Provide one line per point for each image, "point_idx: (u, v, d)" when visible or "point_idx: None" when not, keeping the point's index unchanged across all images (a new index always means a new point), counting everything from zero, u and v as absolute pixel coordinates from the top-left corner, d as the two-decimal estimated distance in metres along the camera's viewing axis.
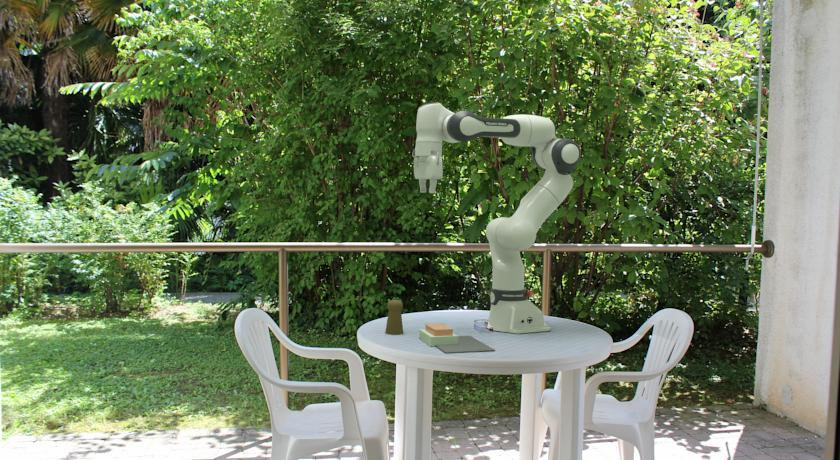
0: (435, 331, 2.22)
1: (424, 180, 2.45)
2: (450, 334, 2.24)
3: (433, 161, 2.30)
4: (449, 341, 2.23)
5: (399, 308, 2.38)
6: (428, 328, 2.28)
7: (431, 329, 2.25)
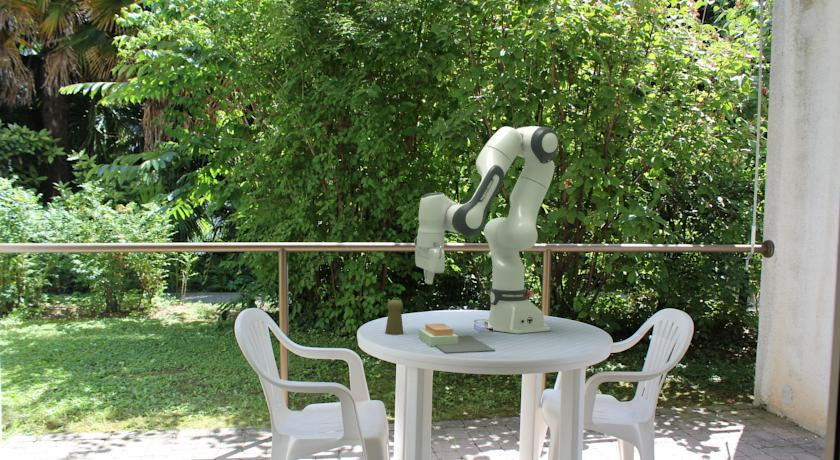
0: (435, 331, 2.22)
1: None
2: (450, 334, 2.24)
3: (435, 255, 2.26)
4: (449, 341, 2.23)
5: (399, 308, 2.38)
6: (428, 328, 2.28)
7: (431, 329, 2.25)
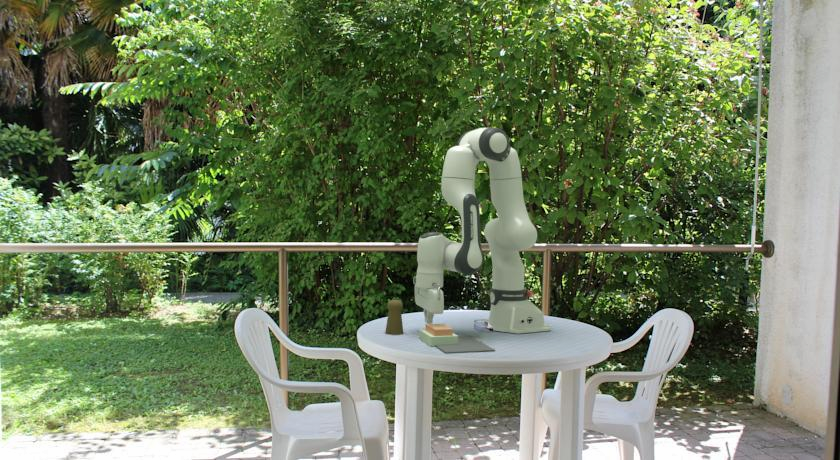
0: (435, 331, 2.22)
1: None
2: (450, 334, 2.24)
3: (434, 296, 2.27)
4: (449, 341, 2.23)
5: (399, 308, 2.38)
6: (428, 328, 2.28)
7: (431, 329, 2.25)
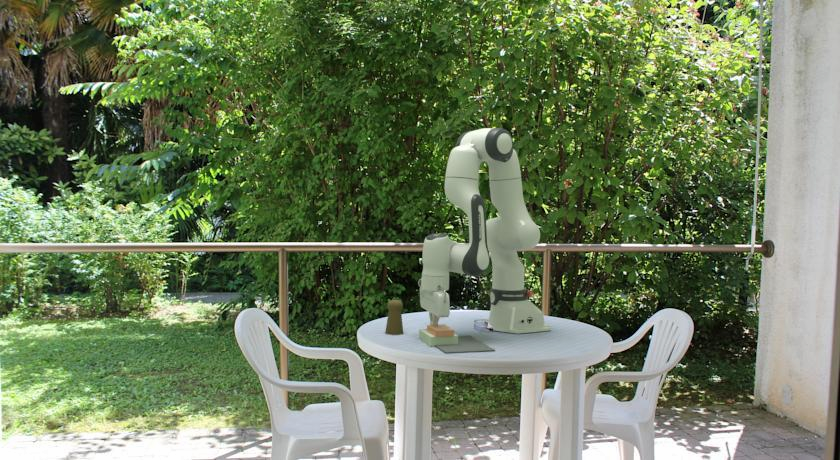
0: (436, 332, 2.21)
1: None
2: (451, 335, 2.22)
3: (440, 299, 2.21)
4: (449, 341, 2.23)
5: (399, 308, 2.38)
6: (429, 329, 2.26)
7: (432, 330, 2.23)
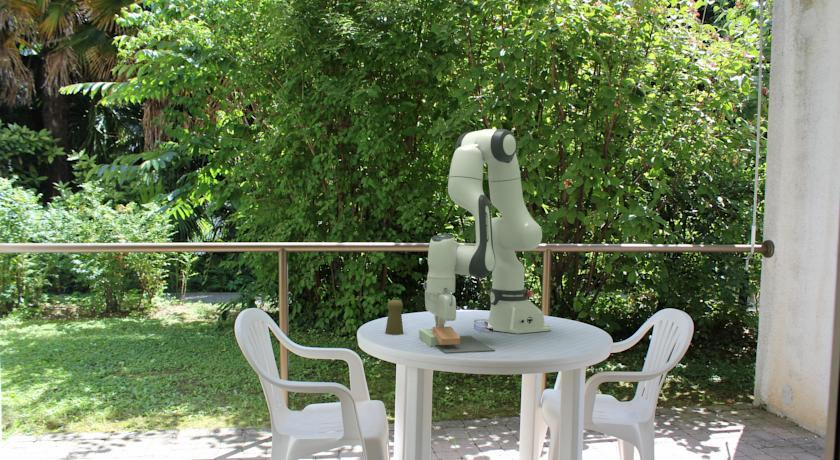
0: (442, 340, 2.15)
1: None
2: (457, 343, 2.17)
3: (446, 302, 2.16)
4: None
5: (399, 308, 2.38)
6: (435, 333, 2.21)
7: (438, 336, 2.18)
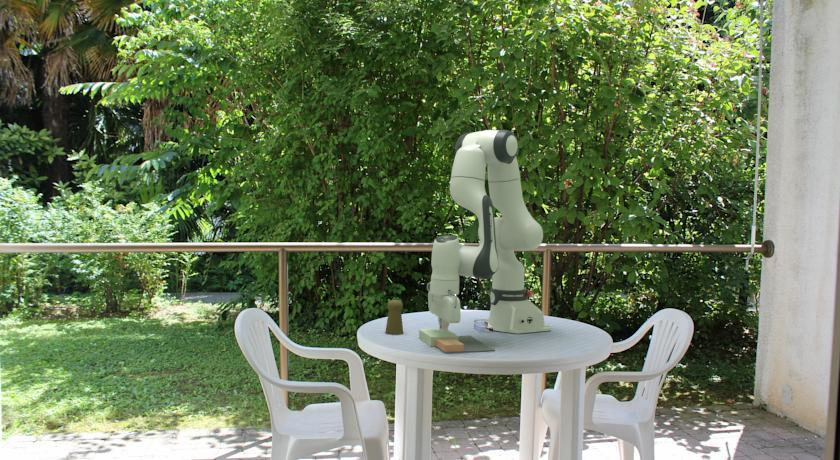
0: (446, 347, 2.13)
1: None
2: (461, 350, 2.14)
3: (450, 304, 2.13)
4: None
5: (399, 308, 2.38)
6: (438, 343, 2.18)
7: (441, 344, 2.15)
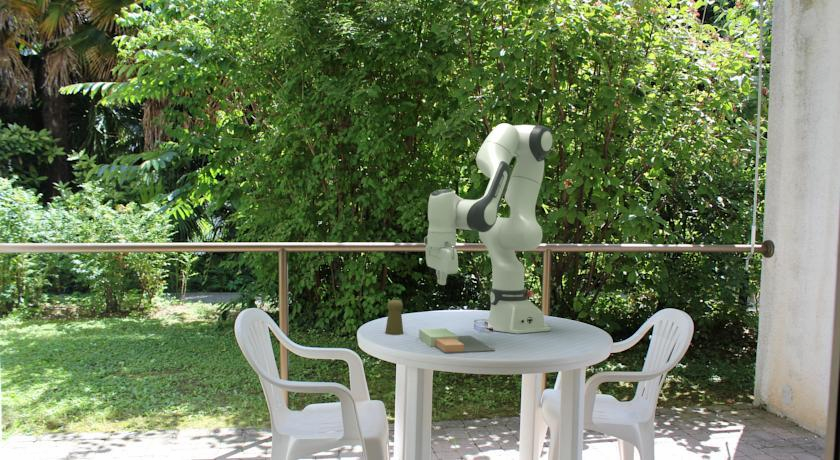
0: (446, 347, 2.13)
1: None
2: (461, 350, 2.14)
3: (448, 255, 2.17)
4: None
5: (399, 308, 2.38)
6: (438, 343, 2.18)
7: (441, 344, 2.15)
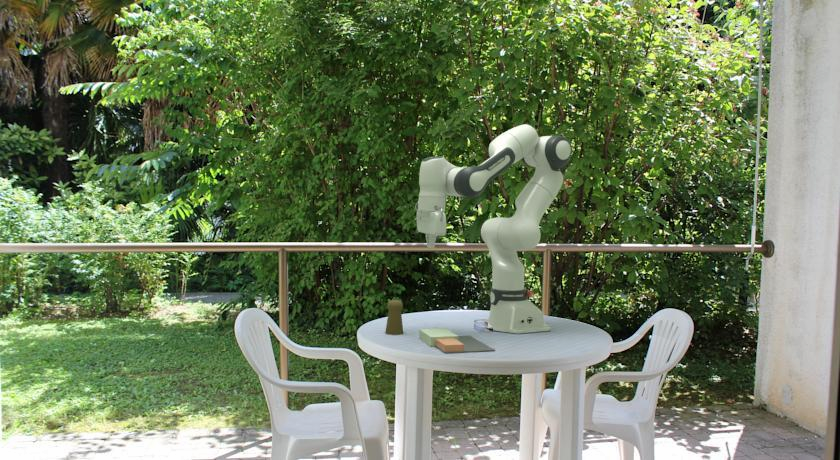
0: (446, 347, 2.13)
1: None
2: (461, 350, 2.14)
3: (436, 218, 2.26)
4: None
5: (399, 308, 2.38)
6: (438, 343, 2.18)
7: (441, 344, 2.15)
